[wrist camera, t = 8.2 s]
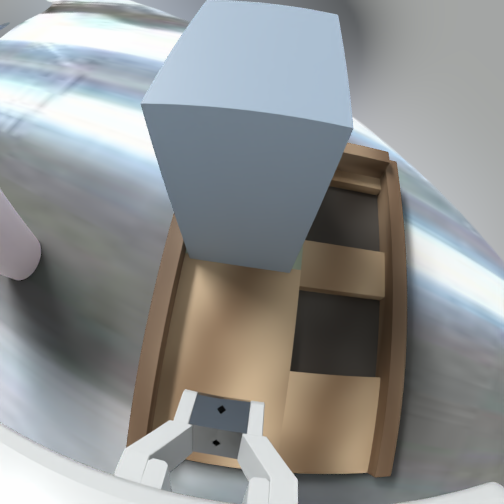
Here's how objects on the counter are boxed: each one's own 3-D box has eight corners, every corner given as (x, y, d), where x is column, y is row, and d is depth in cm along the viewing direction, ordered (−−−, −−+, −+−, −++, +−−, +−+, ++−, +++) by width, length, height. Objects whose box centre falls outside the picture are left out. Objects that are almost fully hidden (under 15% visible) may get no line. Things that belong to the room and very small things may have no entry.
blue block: (299, 166, 22) (337, 14, 11) (289, 273, 19) (353, 127, 8) (215, 154, 22) (206, 0, 11) (189, 258, 19) (140, 103, 8)
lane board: (385, 178, 24) (400, 155, 21) (375, 468, 15) (396, 479, 13) (202, 148, 24) (199, 121, 21) (137, 443, 16) (120, 452, 13)
